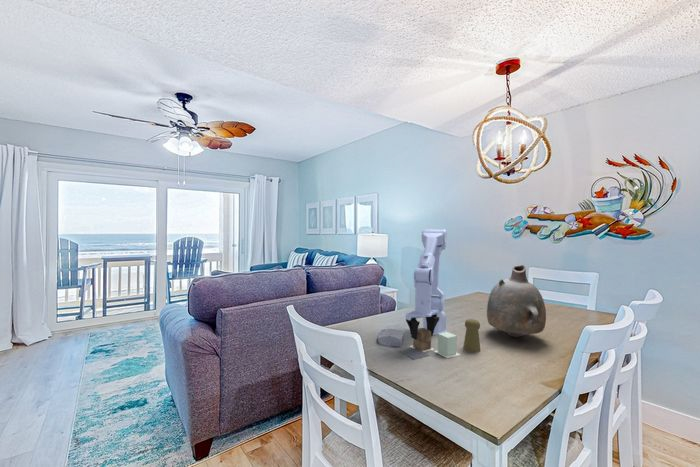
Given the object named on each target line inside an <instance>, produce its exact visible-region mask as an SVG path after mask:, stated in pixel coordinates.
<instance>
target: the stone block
mask: <svg viewBox="0 0 700 467" xmlns="http://www.w3.org/2000/svg"><path fill="white" fill-rule="evenodd" d="M403 341H404V329H397V328H391V327H388V328H384V329H381V330H380V331H379V333H378V335H377V342H378V344H379V345H380V346H387V347H402V346H403Z"/></svg>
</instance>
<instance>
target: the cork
mask: <svg viewBox="0 0 700 467" xmlns="http://www.w3.org/2000/svg"><path fill="white" fill-rule="evenodd" d="M464 326H465V335H464V340H463V347H462V348H463V350H465V351H466V352H468V353H479V352H481V342H480V341H481V340H480V334H479V333H480V331H479V330H480V327H481V324H480V321H479V320H477V319H474V318H467V319H466V320H465V321H464Z"/></svg>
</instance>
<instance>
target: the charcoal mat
mask: <svg viewBox="0 0 700 467" xmlns="http://www.w3.org/2000/svg"><path fill="white" fill-rule="evenodd" d="M400 353H402V354H403V355H405V356H406V357H409V358H410V359H412V361H414V360H417V359H422V358H425V357H426V358H427V357H429V356H430V355H429V354H428V353H426V352H423V351H421V350H419V349H417V348H410V349H405V350H401V351H400Z"/></svg>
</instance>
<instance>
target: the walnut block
mask: <svg viewBox="0 0 700 467" xmlns="http://www.w3.org/2000/svg"><path fill="white" fill-rule="evenodd" d="M412 339H413V338H412ZM412 342H413V343H412V344H413V345H412V346H413V347H415V348H417V349H419V350H421V351H424V350H428V349H431V348H432V336H431V331H429V330H427V329H425V328H423V327H418V332H417V339H413V341H412Z"/></svg>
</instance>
